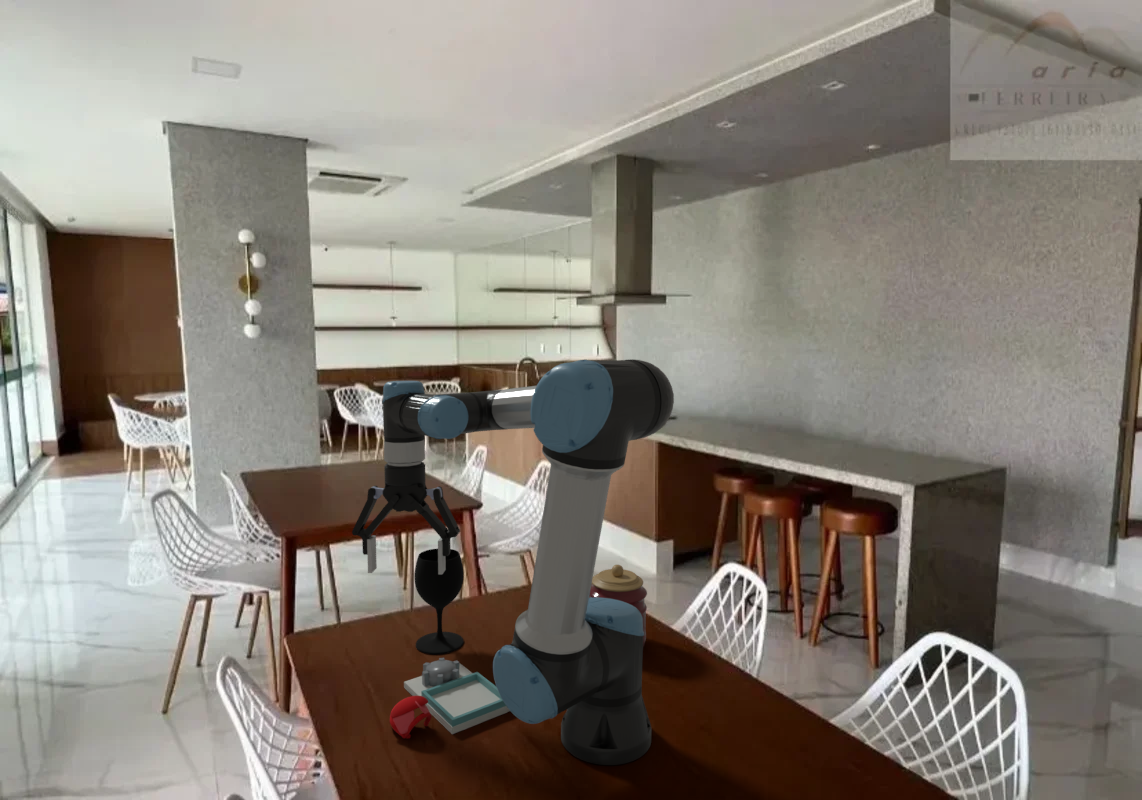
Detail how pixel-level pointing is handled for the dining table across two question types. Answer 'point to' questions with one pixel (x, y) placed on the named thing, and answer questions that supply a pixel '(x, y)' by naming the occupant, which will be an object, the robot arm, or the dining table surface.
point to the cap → (409, 715)
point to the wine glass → (438, 597)
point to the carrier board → (456, 695)
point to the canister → (621, 589)
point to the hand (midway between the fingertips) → (407, 571)
